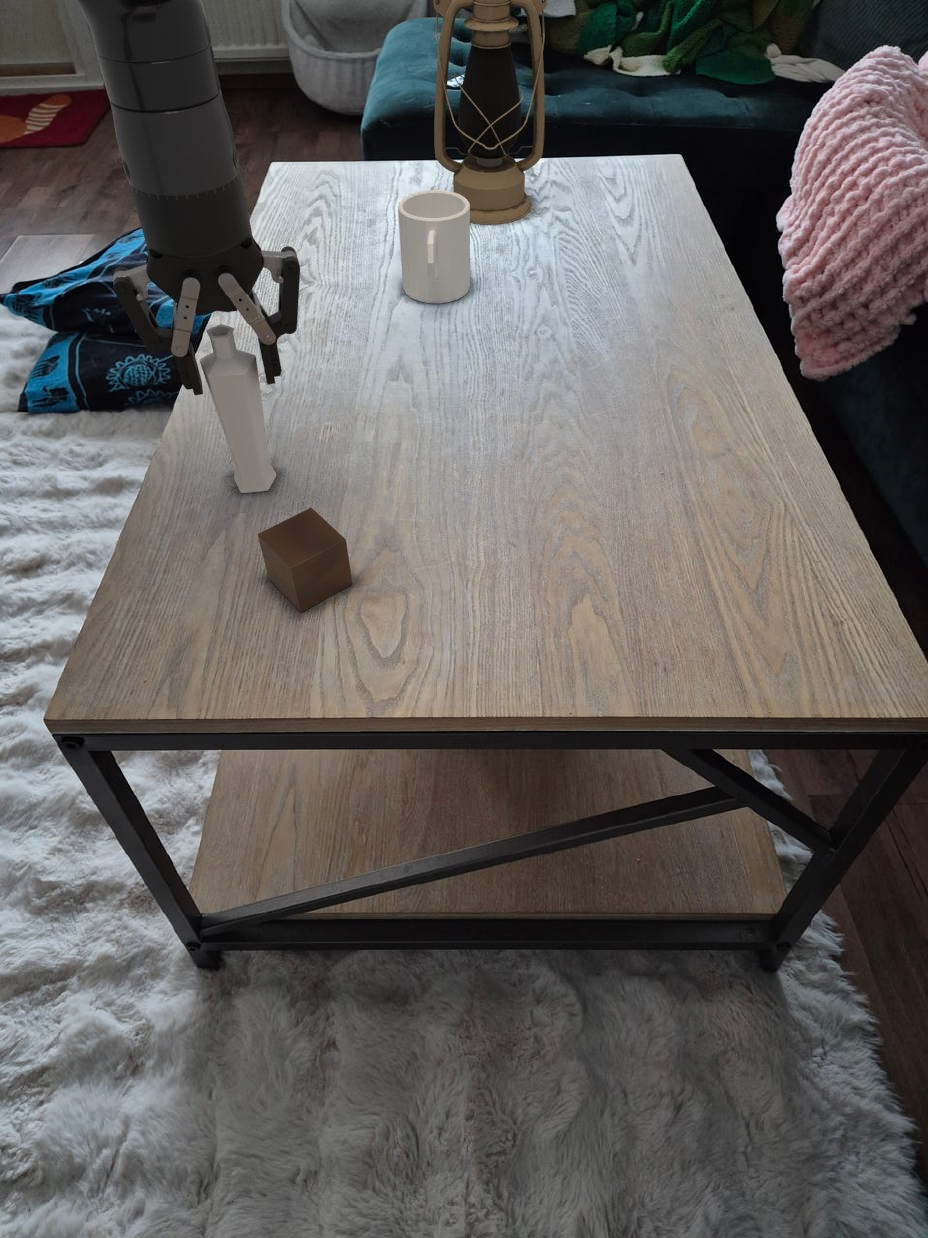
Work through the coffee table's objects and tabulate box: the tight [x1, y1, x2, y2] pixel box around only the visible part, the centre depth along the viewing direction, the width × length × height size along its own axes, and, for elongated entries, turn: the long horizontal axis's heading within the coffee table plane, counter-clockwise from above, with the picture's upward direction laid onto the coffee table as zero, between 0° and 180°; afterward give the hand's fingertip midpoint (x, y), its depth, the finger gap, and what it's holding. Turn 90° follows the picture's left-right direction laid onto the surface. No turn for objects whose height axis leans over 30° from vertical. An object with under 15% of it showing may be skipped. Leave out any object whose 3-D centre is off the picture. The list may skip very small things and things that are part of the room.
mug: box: [397, 189, 471, 304], centre depth 98 cm, size 8×12×10 cm
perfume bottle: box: [199, 323, 277, 494], centre depth 73 cm, size 5×4×15 cm
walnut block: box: [257, 507, 353, 613], centre depth 68 cm, size 5×5×5 cm
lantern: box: [433, 0, 548, 225], centre depth 108 cm, size 15×12×30 cm
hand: (234, 383), depth 71 cm, fingers open, 5 cm apart
